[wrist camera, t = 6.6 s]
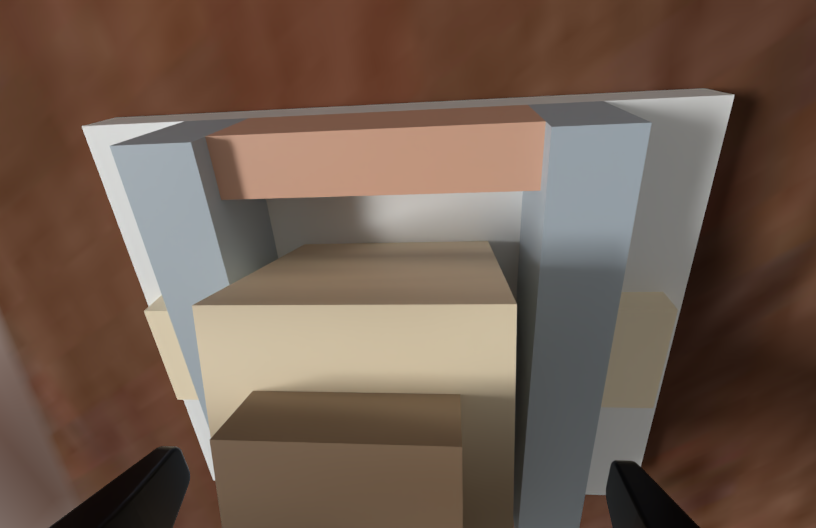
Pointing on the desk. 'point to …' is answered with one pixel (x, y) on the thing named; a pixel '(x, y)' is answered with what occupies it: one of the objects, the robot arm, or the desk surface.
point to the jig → (449, 238)
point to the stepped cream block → (363, 388)
